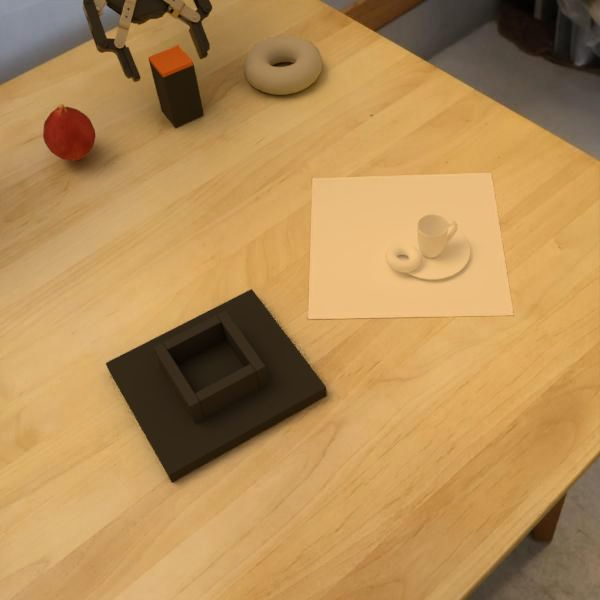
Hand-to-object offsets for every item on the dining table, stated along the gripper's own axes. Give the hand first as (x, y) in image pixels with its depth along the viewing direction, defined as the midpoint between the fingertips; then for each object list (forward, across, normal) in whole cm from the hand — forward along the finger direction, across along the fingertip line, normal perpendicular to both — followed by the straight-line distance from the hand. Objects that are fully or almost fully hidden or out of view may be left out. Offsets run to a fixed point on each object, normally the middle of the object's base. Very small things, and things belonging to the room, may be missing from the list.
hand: (171, 68), depth 101 cm
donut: (+5, +14, +4) cm, 15 cm away
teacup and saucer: (+28, +13, -19) cm, 36 cm away
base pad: (+32, -12, -23) cm, 42 cm away
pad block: (+5, 0, +4) cm, 6 cm away
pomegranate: (+6, -14, +3) cm, 16 cm away
